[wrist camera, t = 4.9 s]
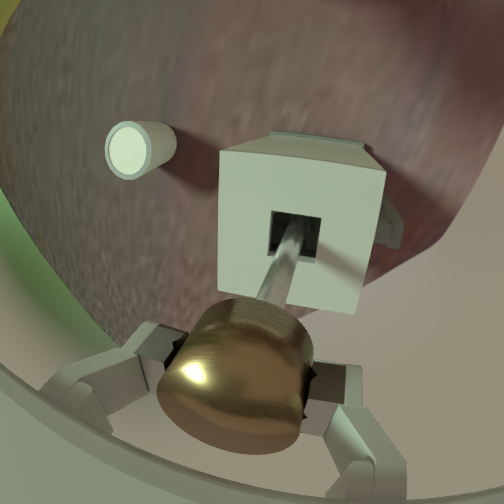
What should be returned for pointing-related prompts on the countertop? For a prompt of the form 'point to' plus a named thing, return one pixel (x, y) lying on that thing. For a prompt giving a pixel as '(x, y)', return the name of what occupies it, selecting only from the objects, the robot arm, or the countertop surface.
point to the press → (303, 203)
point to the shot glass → (138, 147)
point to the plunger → (247, 360)
